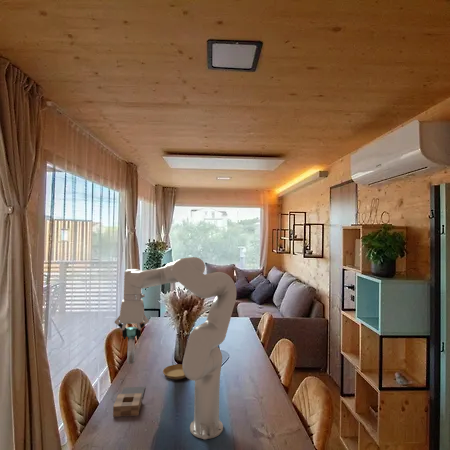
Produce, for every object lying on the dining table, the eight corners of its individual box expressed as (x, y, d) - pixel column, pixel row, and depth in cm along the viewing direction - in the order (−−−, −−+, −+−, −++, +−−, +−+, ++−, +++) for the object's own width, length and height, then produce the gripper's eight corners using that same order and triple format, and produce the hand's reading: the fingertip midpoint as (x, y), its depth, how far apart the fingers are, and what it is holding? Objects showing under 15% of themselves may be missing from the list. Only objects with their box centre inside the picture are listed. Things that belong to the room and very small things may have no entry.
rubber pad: (142, 398, 144) (142, 397, 144) (119, 399, 143) (119, 398, 143) (145, 387, 154) (145, 386, 154) (123, 388, 153) (123, 387, 153)
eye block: (138, 415, 131) (138, 405, 132) (113, 416, 130) (113, 406, 130) (141, 402, 141) (141, 393, 141) (118, 403, 140) (118, 394, 140)
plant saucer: (164, 383, 160) (164, 377, 160) (161, 370, 174) (161, 365, 174) (193, 379, 164) (193, 374, 164) (188, 367, 178) (189, 363, 178)
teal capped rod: (137, 360, 146) (138, 326, 146) (135, 364, 141) (136, 330, 141) (125, 360, 145) (126, 327, 145) (124, 365, 140) (124, 330, 140)
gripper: (152, 295, 148) (151, 334, 148) (114, 295, 146) (113, 335, 145) (151, 298, 141) (150, 340, 141) (110, 299, 138) (109, 341, 138)
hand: (131, 337), depth 143 cm, fingers closed on teal capped rod, 5 cm apart
